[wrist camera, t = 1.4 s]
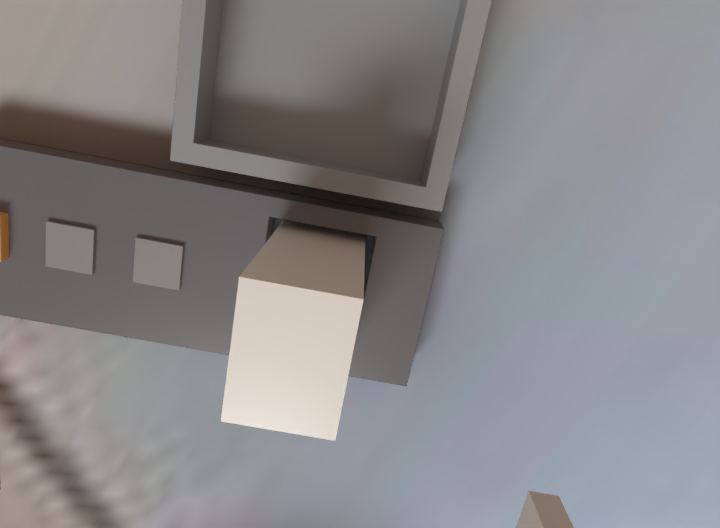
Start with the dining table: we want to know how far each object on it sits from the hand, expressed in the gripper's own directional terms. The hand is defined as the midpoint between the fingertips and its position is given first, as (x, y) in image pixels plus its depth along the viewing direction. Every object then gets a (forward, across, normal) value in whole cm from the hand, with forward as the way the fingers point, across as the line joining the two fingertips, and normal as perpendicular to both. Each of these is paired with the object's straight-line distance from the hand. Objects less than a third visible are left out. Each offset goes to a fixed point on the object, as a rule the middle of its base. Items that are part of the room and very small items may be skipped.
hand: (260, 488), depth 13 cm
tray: (+17, -2, +12) cm, 20 cm away
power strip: (+16, -6, 0) cm, 18 cm away
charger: (+17, 0, 0) cm, 17 cm away
